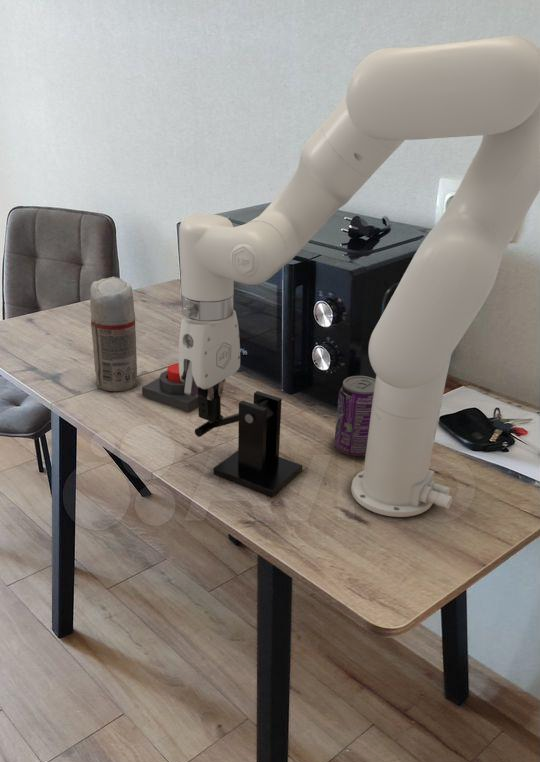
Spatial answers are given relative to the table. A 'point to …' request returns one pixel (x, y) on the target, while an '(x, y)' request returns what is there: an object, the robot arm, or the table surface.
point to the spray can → (113, 334)
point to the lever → (229, 420)
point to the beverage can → (354, 415)
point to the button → (173, 373)
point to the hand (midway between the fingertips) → (209, 417)
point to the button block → (170, 393)
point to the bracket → (259, 450)
